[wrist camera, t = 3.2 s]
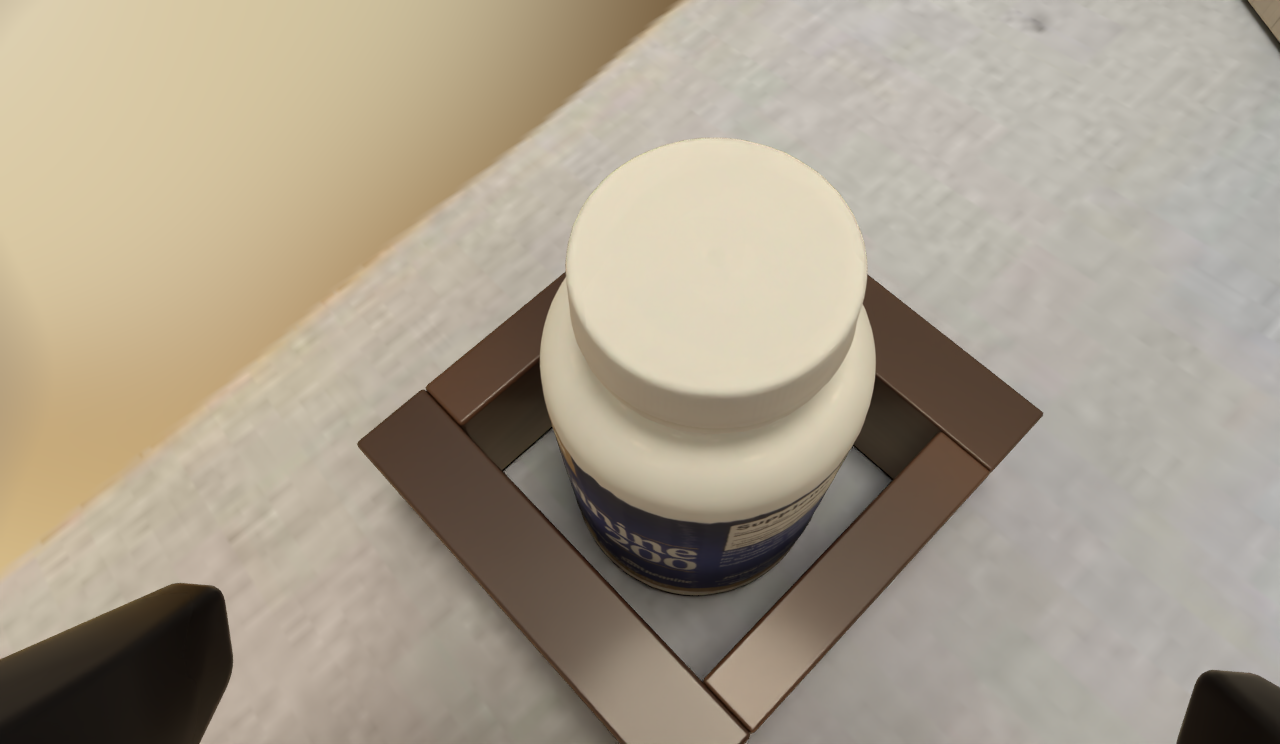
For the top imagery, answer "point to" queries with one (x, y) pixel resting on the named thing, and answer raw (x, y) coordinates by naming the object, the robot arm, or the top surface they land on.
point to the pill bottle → (708, 359)
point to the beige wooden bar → (1269, 14)
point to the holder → (594, 611)
